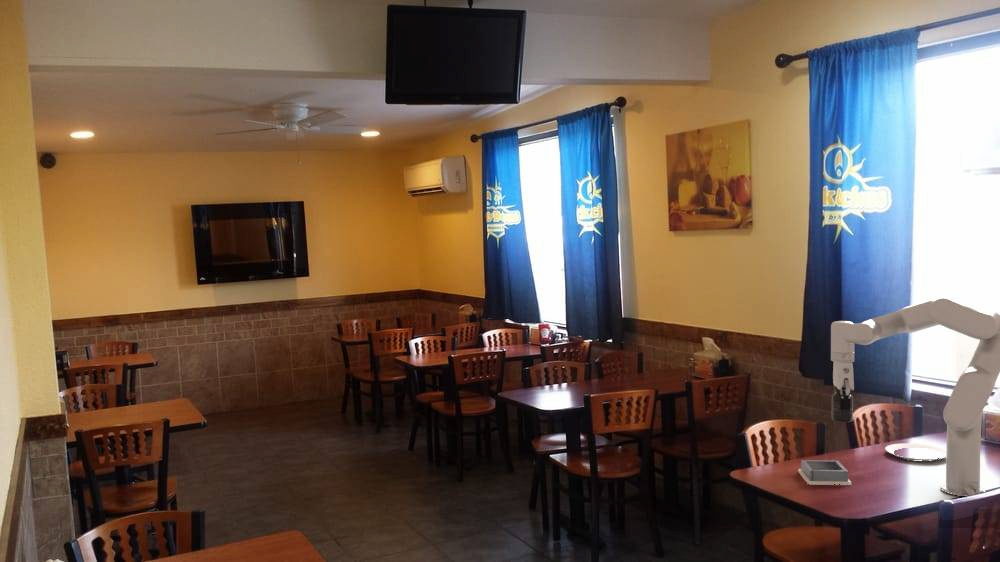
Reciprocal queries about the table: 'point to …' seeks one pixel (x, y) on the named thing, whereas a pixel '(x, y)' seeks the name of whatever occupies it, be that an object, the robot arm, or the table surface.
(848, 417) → the supplement bottle
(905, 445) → the plate
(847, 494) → the table surface
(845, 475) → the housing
